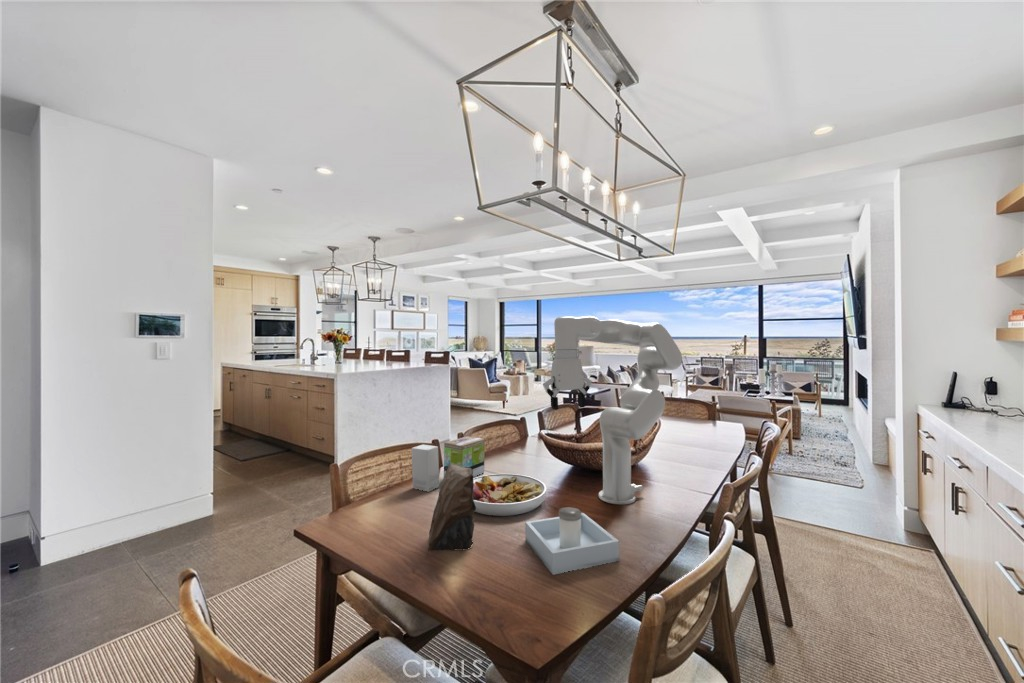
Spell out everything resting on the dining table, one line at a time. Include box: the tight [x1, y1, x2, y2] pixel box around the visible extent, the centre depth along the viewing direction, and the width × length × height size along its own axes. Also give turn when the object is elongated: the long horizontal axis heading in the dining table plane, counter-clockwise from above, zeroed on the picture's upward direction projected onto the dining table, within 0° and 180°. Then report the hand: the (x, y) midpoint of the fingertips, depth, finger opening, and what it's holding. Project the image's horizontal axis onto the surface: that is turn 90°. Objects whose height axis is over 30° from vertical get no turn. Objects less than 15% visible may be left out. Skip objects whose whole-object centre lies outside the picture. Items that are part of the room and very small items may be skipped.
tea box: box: [443, 435, 486, 478], centre depth 168 cm, size 15×10×15 cm, turn 148°
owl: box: [427, 463, 476, 552], centre depth 112 cm, size 13×13×20 cm
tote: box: [524, 512, 620, 576], centre depth 107 cm, size 18×18×5 cm
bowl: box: [473, 473, 547, 517], centre depth 141 cm, size 30×30×8 cm
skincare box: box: [411, 444, 440, 493], centre depth 154 cm, size 8×7×16 cm
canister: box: [558, 506, 582, 549], centre depth 107 cm, size 6×6×9 cm
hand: (568, 407), depth 132 cm, fingers open, 9 cm apart
